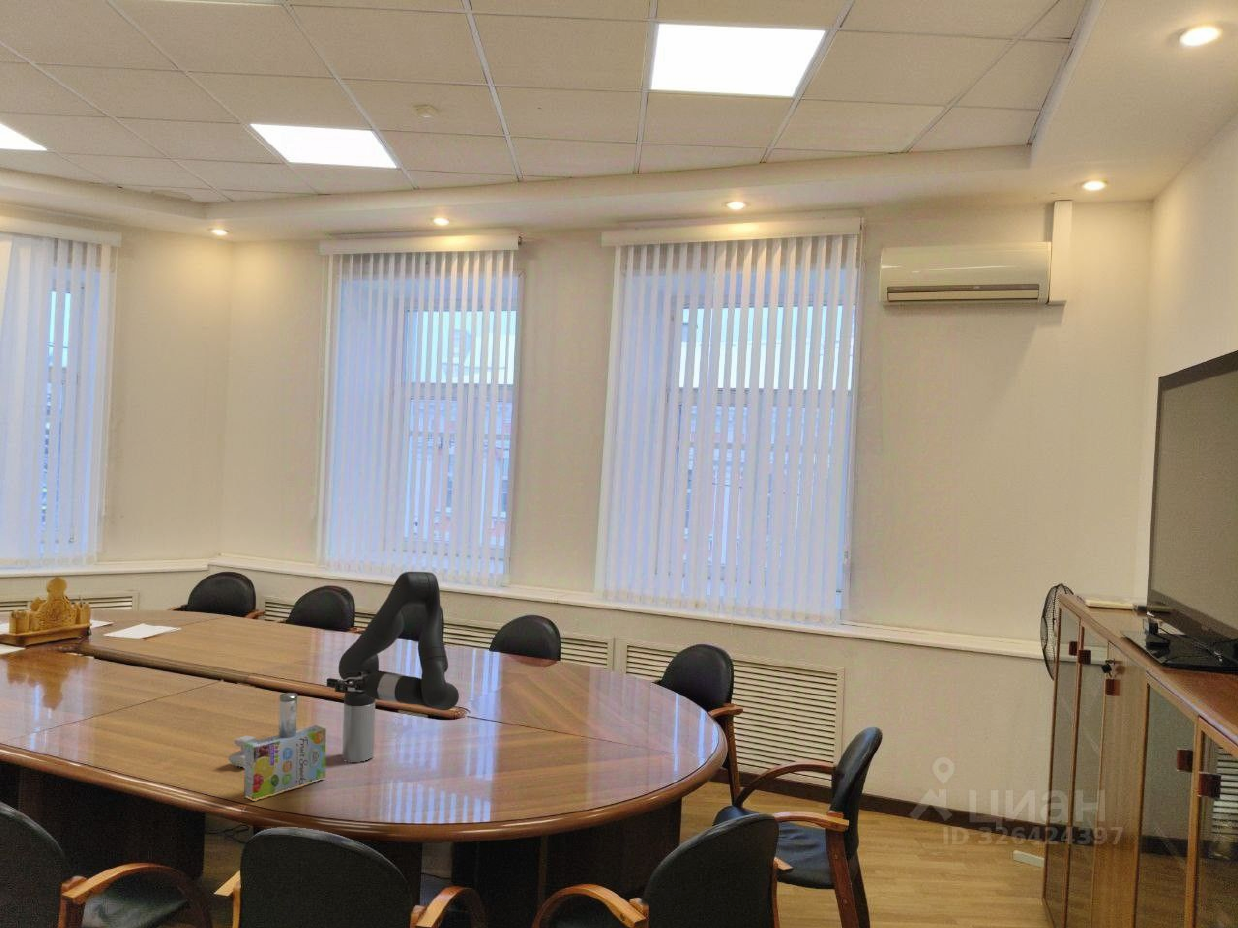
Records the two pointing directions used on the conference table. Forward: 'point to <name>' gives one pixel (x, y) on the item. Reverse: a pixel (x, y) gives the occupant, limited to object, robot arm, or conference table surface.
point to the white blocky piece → (239, 757)
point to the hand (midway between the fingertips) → (337, 678)
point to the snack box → (284, 761)
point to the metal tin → (287, 715)
